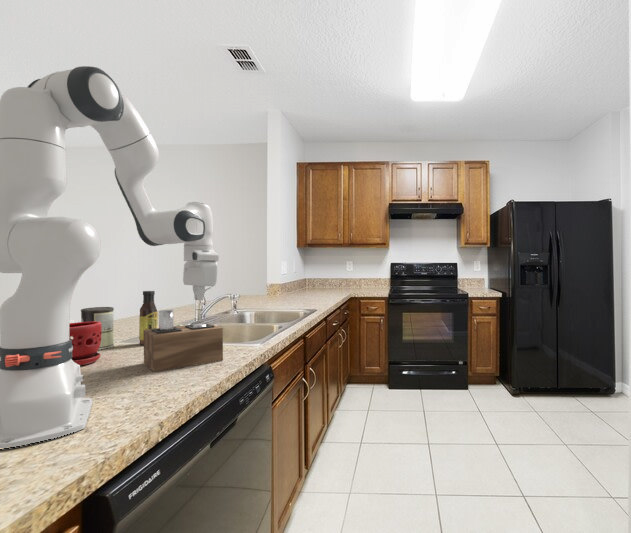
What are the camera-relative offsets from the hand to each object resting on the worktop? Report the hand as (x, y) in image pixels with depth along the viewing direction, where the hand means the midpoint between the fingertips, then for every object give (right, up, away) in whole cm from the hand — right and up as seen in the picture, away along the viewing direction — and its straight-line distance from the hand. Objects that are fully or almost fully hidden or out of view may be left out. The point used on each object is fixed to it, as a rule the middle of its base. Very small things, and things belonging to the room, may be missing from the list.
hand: (198, 300), depth 118 cm
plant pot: (-36, -19, -3) cm, 41 cm away
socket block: (-4, -18, -3) cm, 19 cm away
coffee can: (-42, -19, +19) cm, 50 cm away
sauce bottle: (-26, -19, +24) cm, 40 cm away
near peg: (-8, -13, -6) cm, 16 cm away
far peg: (0, -18, 0) cm, 18 cm away
